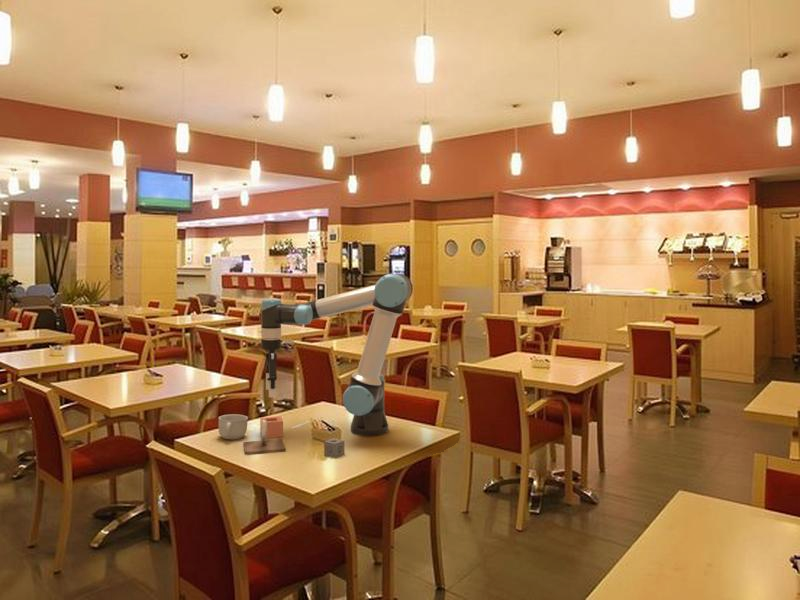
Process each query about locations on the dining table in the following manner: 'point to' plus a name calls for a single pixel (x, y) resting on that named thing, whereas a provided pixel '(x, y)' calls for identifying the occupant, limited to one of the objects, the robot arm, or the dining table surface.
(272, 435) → the pink upright block
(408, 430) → the dining table surface
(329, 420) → the dining table surface
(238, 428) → the teacup
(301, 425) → the butter knife
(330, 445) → the dice cube
